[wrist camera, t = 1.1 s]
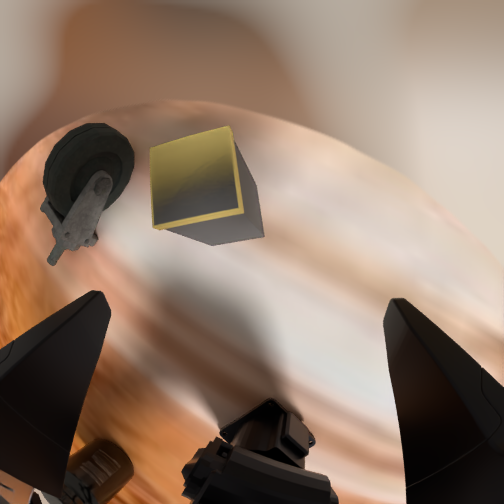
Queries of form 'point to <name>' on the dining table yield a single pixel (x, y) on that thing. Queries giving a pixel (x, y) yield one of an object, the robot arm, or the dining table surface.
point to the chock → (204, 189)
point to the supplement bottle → (94, 474)
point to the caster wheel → (84, 183)
